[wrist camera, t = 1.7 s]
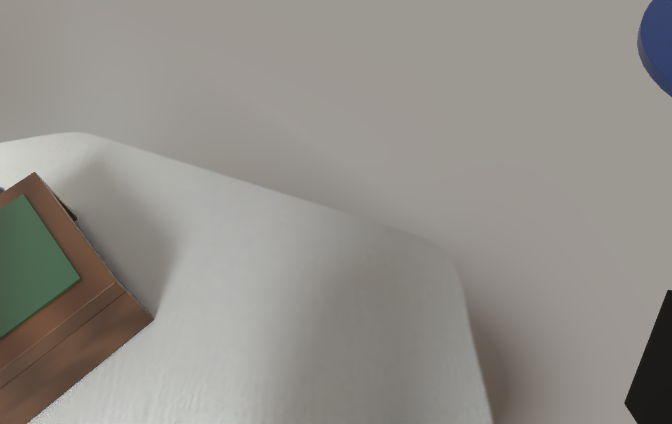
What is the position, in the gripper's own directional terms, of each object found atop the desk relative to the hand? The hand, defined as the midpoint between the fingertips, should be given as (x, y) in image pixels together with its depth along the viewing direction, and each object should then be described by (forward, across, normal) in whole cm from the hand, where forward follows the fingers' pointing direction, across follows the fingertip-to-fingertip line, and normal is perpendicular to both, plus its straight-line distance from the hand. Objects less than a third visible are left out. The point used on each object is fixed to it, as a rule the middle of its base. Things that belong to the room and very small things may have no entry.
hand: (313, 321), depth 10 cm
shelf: (+22, -21, -18) cm, 35 cm away
